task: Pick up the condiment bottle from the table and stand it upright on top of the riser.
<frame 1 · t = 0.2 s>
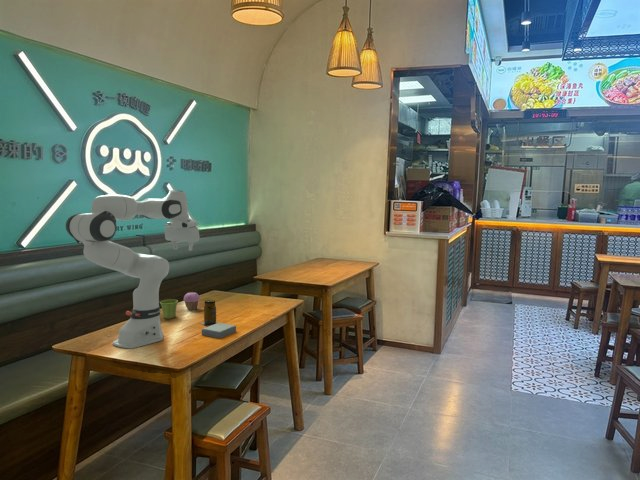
hand: (183, 249, 233), 38 cm above the table, tool pointing down, fingers open, 8 cm apart
plant pot: (169, 317, 251), on the table
cupcake: (191, 309, 267), on the table
riser: (219, 333, 223), on the table
condiment: (210, 324, 239), on the table
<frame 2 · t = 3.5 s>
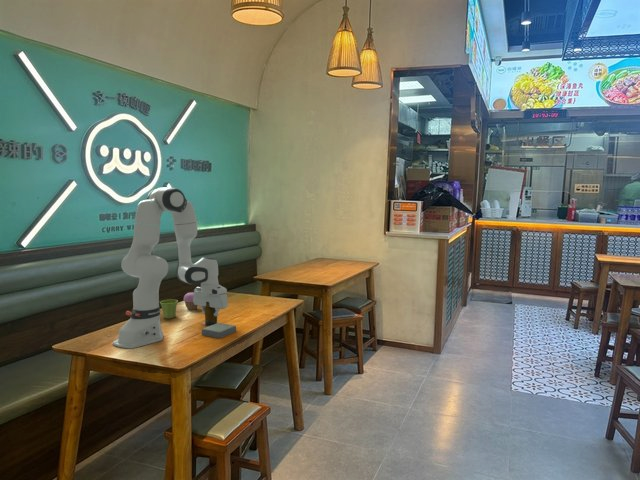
hand: (210, 315, 238), 5 cm above the table, tool pointing down, fingers closed on condiment, 6 cm apart
condiment: (211, 324, 238), on the table, touching gripper
everything else where it was.
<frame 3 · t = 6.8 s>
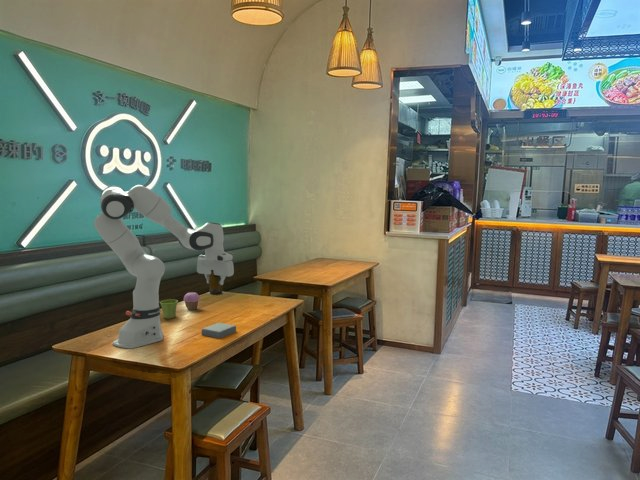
hand: (215, 283, 226), 23 cm above the table, tool pointing down, fingers closed on condiment, 6 cm apart
condiment: (216, 294, 226), point 18 cm above the table, touching gripper
everything else where it was.
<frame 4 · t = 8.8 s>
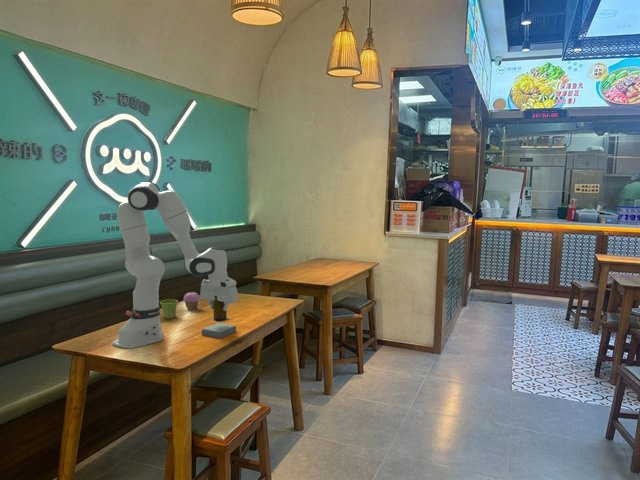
hand: (219, 309, 222), 12 cm above the table, tool pointing down, fingers closed on condiment, 6 cm apart
condiment: (220, 319, 222), point 7 cm above the table, touching gripper
everything else where it was.
when the fingers open (9 cm above the table, at t = 10.2 s): condiment drops 1 cm, resting on riser.
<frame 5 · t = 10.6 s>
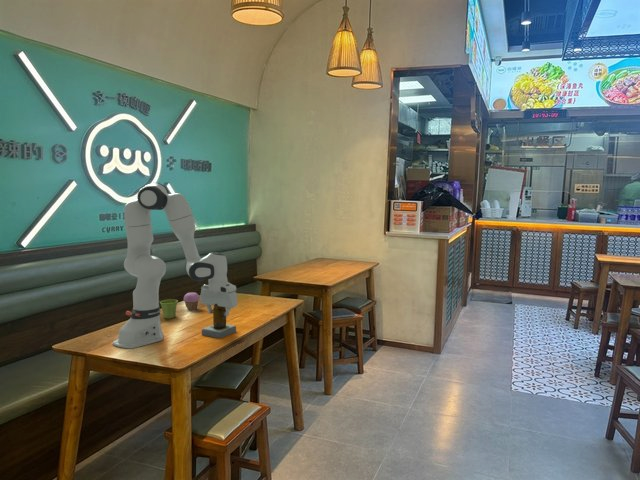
hand: (218, 314, 222), 9 cm above the table, tool pointing down, fingers open, 8 cm apart
condiment: (220, 327, 223), point 3 cm above the table, touching riser
everything else where it was.
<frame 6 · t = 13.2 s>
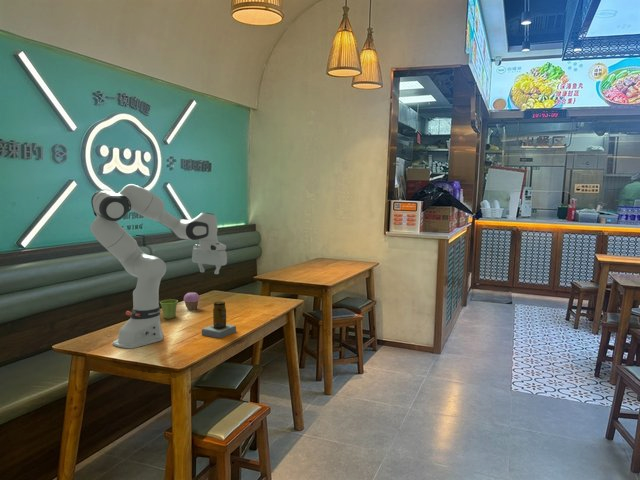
hand: (209, 273, 231), 27 cm above the table, tool pointing down, fingers open, 8 cm apart
nothing on the table moved.
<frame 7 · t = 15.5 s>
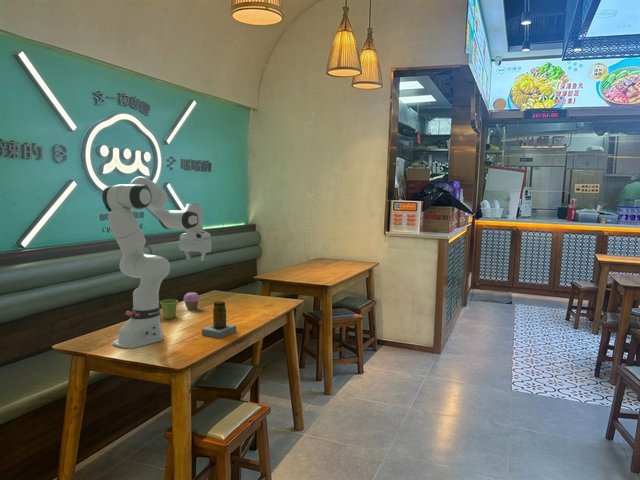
hand: (195, 259, 249), 31 cm above the table, tool pointing down, fingers open, 8 cm apart
nothing on the table moved.
at the end: condiment inside the target area on the riser (0.8 cm from its centre), point 2.8 cm above the riser's base; condiment tilted 0°; the gripper is holding nothing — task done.
